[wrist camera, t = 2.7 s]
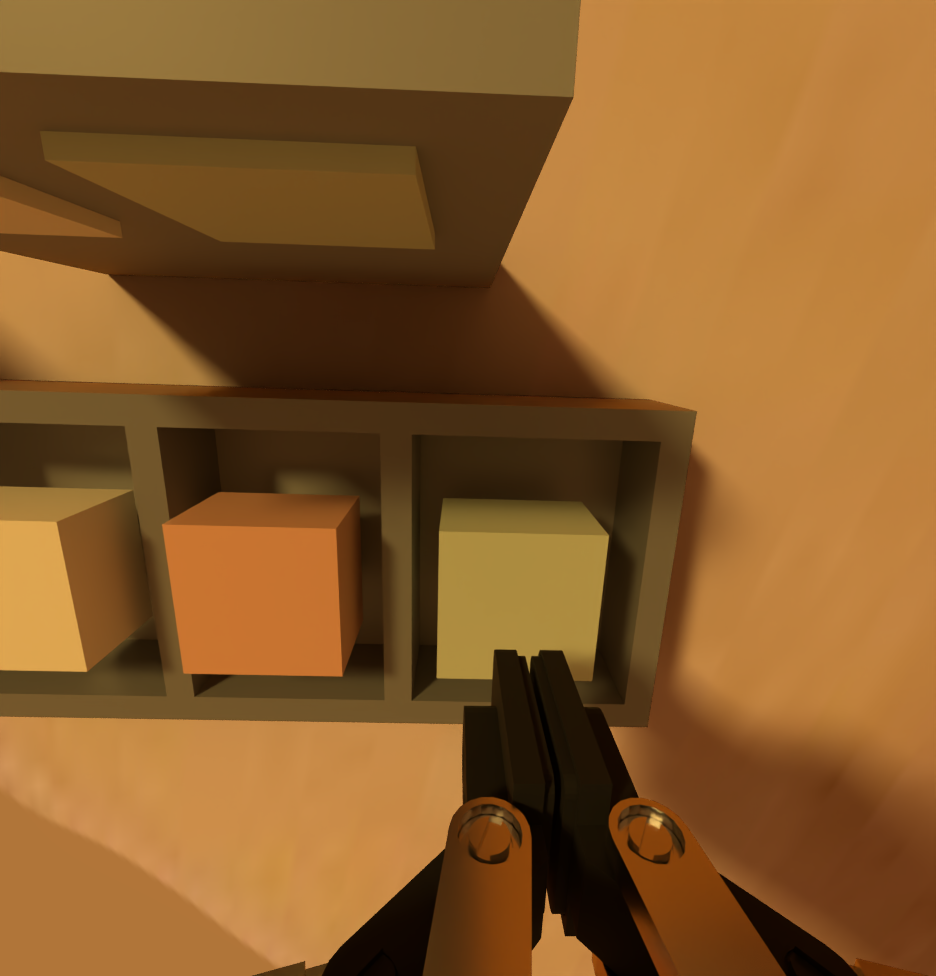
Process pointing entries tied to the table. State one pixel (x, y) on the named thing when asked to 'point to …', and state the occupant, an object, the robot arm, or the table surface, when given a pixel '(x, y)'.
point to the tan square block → (68, 576)
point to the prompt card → (279, 134)
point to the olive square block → (518, 583)
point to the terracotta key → (266, 583)
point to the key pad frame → (383, 522)
